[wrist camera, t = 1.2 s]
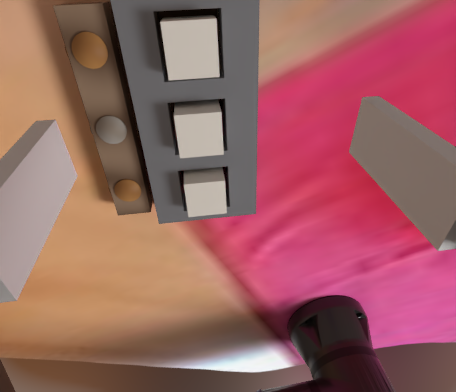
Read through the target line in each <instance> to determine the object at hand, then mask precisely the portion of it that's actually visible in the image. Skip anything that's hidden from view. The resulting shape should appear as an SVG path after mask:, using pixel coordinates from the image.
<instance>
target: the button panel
mask: <svg viewBox="0 0 456 392" xmlns="http://www.w3.org/2000/svg"><path fill="white" fill-rule="evenodd" d="M111 5H112V10H113V14H114V19H115V23H116V28H117V33H118V37H119V42H120V46H121V51H122V56H123V60H124V65H125V69H126V74H127V79H128V83H129V88H130V92H131V97H132V102H133V106H134V111H135V115H136V120H137V125H138V129H139V134H140V138H141V143H142V148H143V152H144V157H145V161H146V166H147V171H148V175H149V180H150V184H151V189H152V193H153V198H154V203H155V207H156V212H157V216H158V221H159V224H162V223H172V222H181V221H191V220H201V219H210V218H220V217H230V216H240V215H249V214H256V178H257V116H258V53H259V0H111ZM210 8H217V11H218V31H219V51H220V69H219V74H220V77H212V78H198V79H183V80H169V79H168V72H166V67H165V60H164V53H163V46H162V39H161V33H160V26H159V19H158V12H157V11H172V10H191V9H210ZM212 99H222V110H223V130H224V136H223V150H224V155H214V156H202V157H191V158H180V155H179V148H178V141H177V140H176V135H175V128H174V121H173V115H172V108H171V103H172V102H185V101H198V100H212ZM215 167H225V170H226V207H227V213H225V214H215V215H206V216H196V217H188V211H187V204H186V197H185V193H184V190H183V183H182V176H181V171H182V170H193V169H204V168H215Z"/></svg>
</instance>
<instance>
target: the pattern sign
mask: <svg viewBox="0 0 456 392" xmlns="http://www.w3.org/2000/svg"><path fill="white" fill-rule="evenodd" d="M53 7H54V11H55V14H56V17H57V20H58V24H59V27H60V30H61V33H62V36H63V40H64V43H65V49H66V52H67V55H68V57H69V59H70V62H71V65H72V69H73V72H74V75H75V78H76V82H77V85H78V88H79V91H80V94H81V98H82V101H83V104H84V107H85V110H86V114H87V117H88V120H89V123H90V129H91V132H92V134H93V136H94V139H95V143H96V146H97V149H98V152H99V156H100V159H101V162H102V165H103V168H104V172H105V175H106V178H107V181H108V185H109V190H110V192H111V194H112V197H113V201H114V204H115V207H116V210H117V214H118V215H126V214H136V213H146V212H151V207H152V201H153V200H152V196H151V191H150V187H149V182H148V178H147V173H146V169H145V164H144V160H143V155H142V151H141V146H140V142H139V137H138V132H137V128H136V123H135V119H134V114H133V110H132V105H131V101H130V96H129V92H128V87H127V83H126V78H125V74H124V69H123V65H122V60H121V56H120V51H119V47H118V42H117V37H116V33H115V28H114V24H113V19H112V15H111V10H110V6H109V2H101V3H81V4H62V5H55V6H53Z"/></svg>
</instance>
